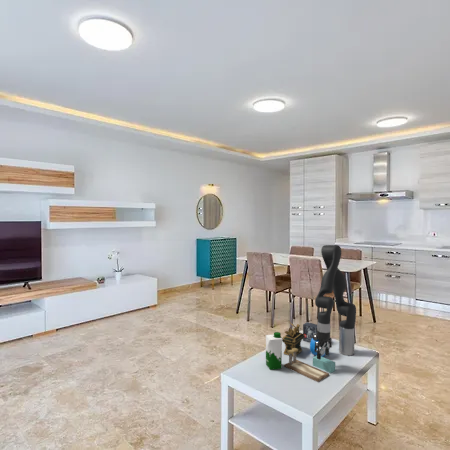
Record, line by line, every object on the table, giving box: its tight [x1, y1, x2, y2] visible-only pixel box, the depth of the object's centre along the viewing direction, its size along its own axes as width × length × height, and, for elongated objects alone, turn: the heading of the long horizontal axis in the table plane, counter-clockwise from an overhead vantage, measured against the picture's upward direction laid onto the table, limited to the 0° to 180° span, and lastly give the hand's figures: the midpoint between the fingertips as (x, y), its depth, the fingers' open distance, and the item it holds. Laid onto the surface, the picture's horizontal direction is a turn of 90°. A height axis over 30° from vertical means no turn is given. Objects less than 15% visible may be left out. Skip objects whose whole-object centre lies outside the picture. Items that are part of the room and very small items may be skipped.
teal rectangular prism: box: [312, 355, 336, 374], centre depth 188 cm, size 5×12×5 cm, turn 40°
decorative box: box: [281, 322, 305, 357], centre depth 208 cm, size 20×10×20 cm, turn 143°
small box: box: [302, 321, 318, 343], centre depth 227 cm, size 13×7×12 cm, turn 50°
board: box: [283, 348, 330, 383], centre depth 183 cm, size 11×23×9 cm, turn 40°
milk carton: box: [265, 331, 283, 371], centre depth 188 cm, size 9×9×20 cm
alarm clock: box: [309, 334, 326, 358], centre depth 204 cm, size 13×6×15 cm, turn 131°
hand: (322, 357), depth 187 cm, fingers open, 8 cm apart
